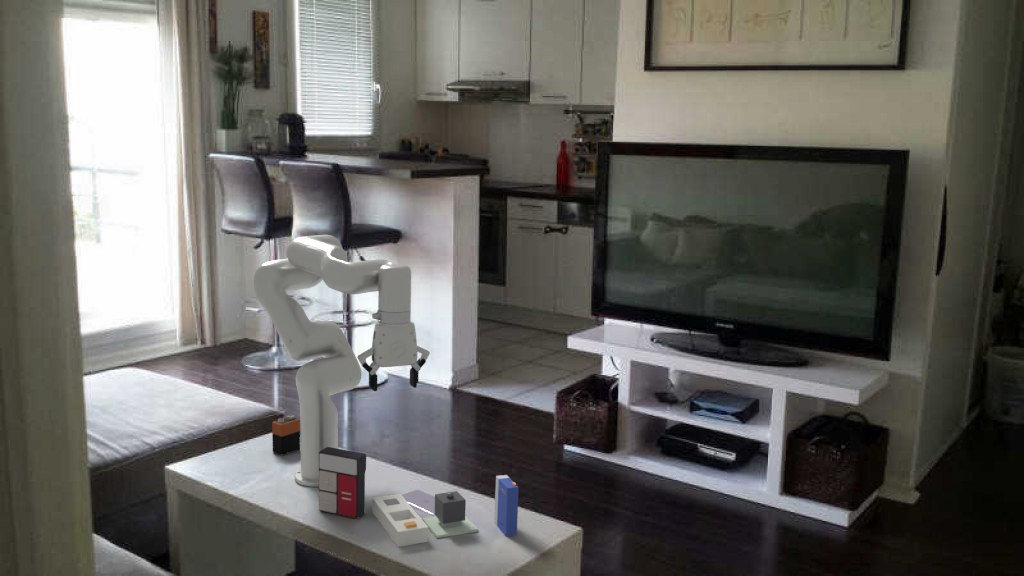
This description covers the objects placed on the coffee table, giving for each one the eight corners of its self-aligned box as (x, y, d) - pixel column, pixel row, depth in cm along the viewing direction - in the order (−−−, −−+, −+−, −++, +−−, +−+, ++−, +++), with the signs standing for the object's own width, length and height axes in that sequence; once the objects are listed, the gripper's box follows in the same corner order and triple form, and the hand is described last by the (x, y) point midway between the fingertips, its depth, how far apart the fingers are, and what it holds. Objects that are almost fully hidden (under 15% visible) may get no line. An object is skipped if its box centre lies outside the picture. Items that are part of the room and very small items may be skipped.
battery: (301, 449, 259) (300, 415, 257) (282, 456, 253) (281, 421, 251) (290, 446, 261) (290, 412, 259) (271, 452, 256) (271, 418, 254)
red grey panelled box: (316, 511, 218) (316, 452, 215) (326, 505, 222) (326, 446, 219) (356, 520, 214) (357, 459, 211) (366, 513, 218) (366, 453, 215)
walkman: (517, 535, 209) (518, 485, 207) (505, 536, 208) (507, 486, 206) (505, 521, 216) (506, 473, 214) (494, 522, 215) (495, 474, 213)
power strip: (372, 511, 219) (372, 495, 218) (400, 507, 222) (400, 491, 221) (397, 546, 201) (398, 529, 200) (427, 541, 204) (428, 524, 203)
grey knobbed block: (434, 520, 214) (435, 490, 212) (456, 517, 216) (457, 487, 215) (442, 530, 209) (443, 499, 208) (464, 526, 211) (465, 495, 210)
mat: (422, 520, 215) (422, 518, 215) (461, 514, 219) (461, 512, 219) (436, 538, 206) (437, 535, 206) (477, 531, 210) (477, 528, 210)
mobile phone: (417, 488, 232) (458, 505, 222) (417, 491, 233) (458, 509, 223) (394, 496, 227) (435, 514, 217) (394, 499, 227) (435, 518, 217)
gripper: (362, 322, 206) (362, 395, 209) (434, 318, 213) (433, 388, 216) (353, 316, 213) (353, 386, 216) (424, 312, 220) (423, 380, 223)
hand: (393, 387), depth 216 cm, fingers open, 9 cm apart
